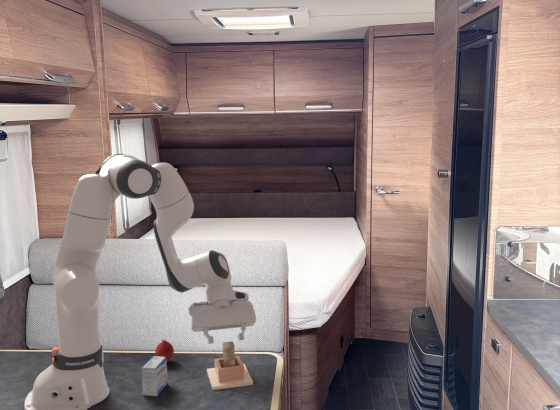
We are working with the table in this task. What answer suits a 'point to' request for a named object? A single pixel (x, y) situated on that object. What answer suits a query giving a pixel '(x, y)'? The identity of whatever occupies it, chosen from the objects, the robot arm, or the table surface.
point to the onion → (165, 350)
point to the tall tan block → (228, 354)
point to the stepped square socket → (229, 375)
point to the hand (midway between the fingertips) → (226, 341)
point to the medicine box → (154, 376)
